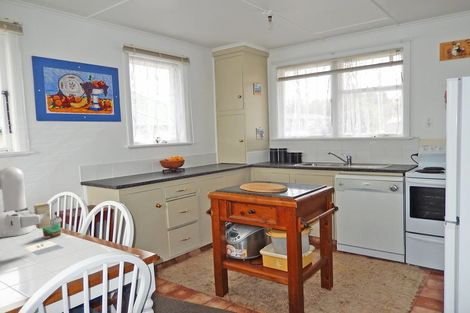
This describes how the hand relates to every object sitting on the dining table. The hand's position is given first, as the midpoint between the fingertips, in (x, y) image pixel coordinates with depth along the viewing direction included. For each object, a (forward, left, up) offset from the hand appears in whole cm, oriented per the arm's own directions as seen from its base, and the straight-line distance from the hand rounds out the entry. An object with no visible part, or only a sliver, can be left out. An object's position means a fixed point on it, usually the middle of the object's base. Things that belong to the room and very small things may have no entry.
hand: (44, 213), depth 164 cm
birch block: (0, -1, -6) cm, 6 cm away
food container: (-21, +11, -18) cm, 30 cm away
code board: (-5, 0, -18) cm, 19 cm away
